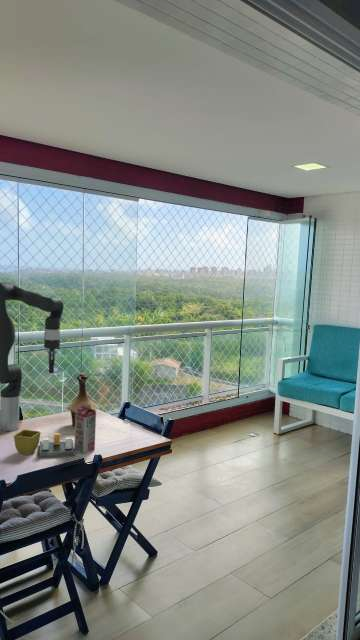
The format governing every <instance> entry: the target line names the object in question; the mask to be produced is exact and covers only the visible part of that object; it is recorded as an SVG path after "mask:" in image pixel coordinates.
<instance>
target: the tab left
mask: <svg viewBox="0 0 360 640" xmlns="http://www.w3.org/2000/svg"><path fill="white" fill-rule="evenodd" d="M42 441H43V450H48V449H49V441H50V438H49V437H48V438H47V437H45V438H42Z"/></svg>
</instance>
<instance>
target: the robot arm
mask: <svg viewBox="0 0 360 640" xmlns="http://www.w3.org/2000/svg"><path fill="white" fill-rule="evenodd" d="M6 301H19V302H22V303H23V304H24V305H27V306H30V307H32V308H37V309H38V310H39V309H40V310H41V311H43V312H47V313H50V314H49V316H47V317H46V318H45V321H44V322H45V323H44V334H43V339H44V340H43V348H44V349H49V350H48V351H47V361H48V373H49V374H54V373H55V371H54V370H55V362H56V356H57V351H55V350H56V349H60V347H61V332H60V331H61V330H60V329H61V319H62V315H63V311H64V307H65V306H64V301H63V300H62V298H61V297H54V296H53V297H48V296H45V295H44V294H42V293H39V292H34V291H31V290H26V289H24V288H20V287H19V286H17V285H15V284H13V283H11V282H3V281H1V282H0V383H1V385H2V384H3V385H4V384H5V385H6V384H7V385H6V386H5V387H4V388H2V389H1V390H0V431H3V432H4V431H6V432H10V431H16V430H18V429H19V428H20V396H21V395H20V393H21V389H22V380H23V377H22V376H23V371H22V367H21V366H20V365H19V364H17V363H12V364H9V356H10V351H11V349H12V348H13V345H14V343H15V342H16V329H15V327H16V326H15V324H14V322H13V319H12V318H11V316H10V314H9V313H8V310H7V306H6Z"/></svg>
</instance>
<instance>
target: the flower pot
mask: <svg viewBox="0 0 360 640" xmlns="http://www.w3.org/2000/svg"><path fill="white" fill-rule="evenodd" d="M41 434H42V433H41V431H40V430H31V429H21V431H19V432H18V433H15V434H14V435H13V438H14V439H13V440H14V447H15V449H16V452H18V454H20V455H21V454H22V455H27V456H28V455H31V454H33V453H34V452H35V451H36V450H37V448H38V446H39V445H40V441H41V440H40V438H41Z"/></svg>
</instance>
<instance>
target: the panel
mask: <svg viewBox="0 0 360 640" xmlns="http://www.w3.org/2000/svg"><path fill="white" fill-rule="evenodd" d="M65 442H66V439H60V444H55V445H54V439H53V440H49V449H48V450H43V440H39V459H40V458H41V459H42V458H43V459H44V458H45V459H47V458H60V457H61V458H62V457H63V458H64V457H75V450H74V440H73V439H72V445H71V448H70V449H66V448H65Z"/></svg>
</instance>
